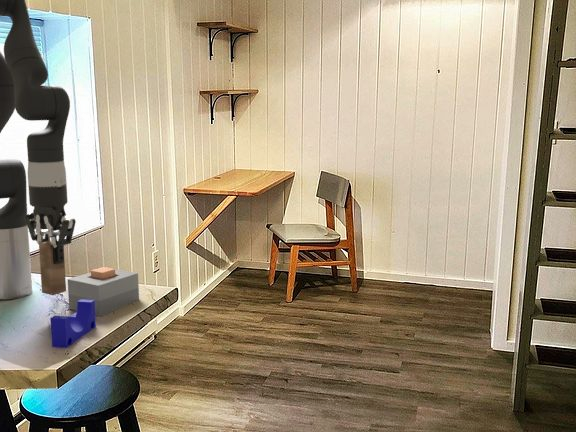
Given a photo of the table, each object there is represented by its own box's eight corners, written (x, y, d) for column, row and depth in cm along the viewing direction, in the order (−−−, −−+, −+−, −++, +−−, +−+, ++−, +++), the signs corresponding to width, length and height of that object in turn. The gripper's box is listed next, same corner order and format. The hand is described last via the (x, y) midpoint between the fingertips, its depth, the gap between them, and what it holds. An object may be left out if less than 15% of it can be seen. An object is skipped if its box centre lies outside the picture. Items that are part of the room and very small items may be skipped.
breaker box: (69, 308, 146) (67, 279, 144) (109, 295, 156) (107, 267, 155) (100, 316, 141) (98, 285, 139) (139, 302, 151) (137, 273, 149)
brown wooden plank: (42, 292, 138) (38, 242, 136) (55, 288, 141) (52, 239, 139) (52, 295, 136) (49, 245, 134) (66, 291, 139) (63, 241, 137)
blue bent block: (76, 326, 135) (74, 298, 134) (95, 327, 134) (94, 300, 133) (45, 347, 123) (43, 317, 122) (66, 348, 123) (64, 319, 122)
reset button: (91, 284, 147) (90, 270, 146) (104, 280, 150) (103, 266, 149) (103, 286, 145) (102, 272, 144) (115, 282, 148) (115, 269, 147)
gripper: (10, 182, 134) (16, 261, 138) (55, 187, 127) (60, 271, 130) (40, 178, 141) (45, 254, 144) (84, 183, 133) (88, 263, 137)
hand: (52, 261), depth 137 cm, fingers closed on brown wooden plank, 3 cm apart
